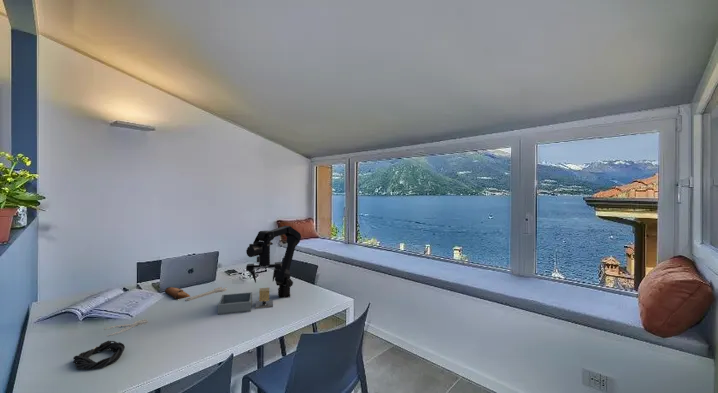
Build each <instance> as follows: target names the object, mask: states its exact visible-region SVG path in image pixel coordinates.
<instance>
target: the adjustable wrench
mask: <svg viewBox="0 0 718 393" xmlns="http://www.w3.org/2000/svg"><path fill="white" fill-rule="evenodd" d="M227 290H228V288H227V287H224V288H223V287H222V286H220V287H216V288H215V287H214V288H213V290H210V291H207V292H203V293H199V294H195V295H192V296H190V297H186V298H184V300H185V302H190V301H193V300H196V299H199V298H203V297H205V296H209V295H210V296H211V295H213V294H217V293H220V292H221V293H223V292H226V291H227Z"/></svg>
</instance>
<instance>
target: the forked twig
mask: <svg viewBox="0 0 718 393" xmlns="http://www.w3.org/2000/svg"><path fill="white" fill-rule="evenodd" d="M147 323H149V320H148V319H147V318H144V319H140V320H137V321H134V322H133V323H131V324H130V323H129V324H127V323H126V324H118V325H113V326H112V325H111V326H109V327H104V330H108V329H107V328H110V329H114V328H113V327H115V328H120V327H121V326H122V327H124V328H122V329H121V330H120V331H119V330H118V331H116V332H114V333H111V334H110V333H109V334H107V335H106V336H107V337H110V336H109V335H112V336H115V335H114V334H116V335H118V333H119V334H121V333H120V332H122V333H124V331H125V332H127V331H129V330H131V329H133V328H135V327H138V325H140V326H143V325H142V324H144V325H147ZM132 327H133V328H132ZM125 328H126V329H125ZM130 328H131V329H130ZM123 329H124V330H123ZM128 329H129V330H128ZM126 330H127V331H126Z"/></svg>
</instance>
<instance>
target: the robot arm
mask: <svg viewBox="0 0 718 393" xmlns="http://www.w3.org/2000/svg"><path fill="white" fill-rule="evenodd" d="M283 235H284V236H285V237H286V244H287V246H286V248H285V252H284V255H283V260H282V261H275V262H274V263H271V246H272V245H273V244H274V243H273V242H272V241H273V240H274V239H275V238H276V237H279V236H283ZM301 239H302V234H301V233H300V232H299V231H297V230H296V229H294V228H293V227H292V226H290V225H283V226H281V227H278V228H273V229H271V230H270V229H269V230H260V231H258V233H257V235H256V237H255V239H254V240H253V243H249V246H247V248H246V250H245V251H246V252H245V253H246V256H248V258H255V257H256V263H258V264H255V263H247V264H246V266H245V271H246V272H248V273H250V275H252V278H253V281H254V283H255V284H256V283H257V277H256V276H257V275H256V270H257V269H270V268H271V269H273V273H272V282H274V281H275V284H276V286H278V288H277V296H278V298H290V297H291V287H292V286H293V285H294V281H293V280H292V279H291V272H290V268H291V265H292V260H293V257H294V253H295V250H296V247H297V246H298V245H299V243H300V241H301Z"/></svg>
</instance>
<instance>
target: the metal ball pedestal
mask: <svg viewBox="0 0 718 393" xmlns="http://www.w3.org/2000/svg"><path fill="white" fill-rule="evenodd" d="M273 307H274V301H273V299H269V301H260V302H259V300H256V301H255V309H265V308H266V309H267V308H273Z"/></svg>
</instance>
